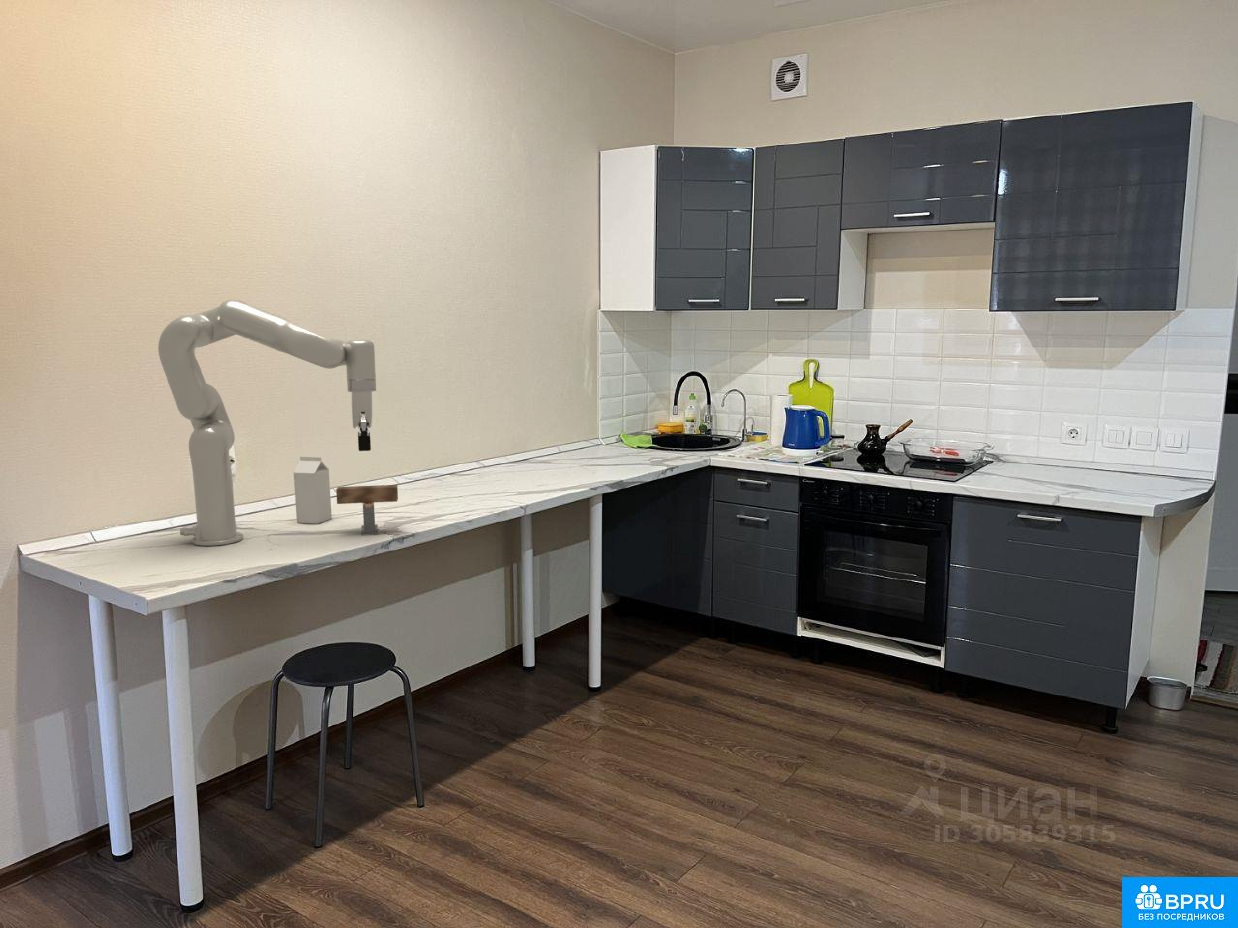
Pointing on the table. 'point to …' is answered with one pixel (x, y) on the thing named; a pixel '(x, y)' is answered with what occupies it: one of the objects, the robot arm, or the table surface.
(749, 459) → the table surface
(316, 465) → the milk carton
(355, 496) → the walnut rod
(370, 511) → the ridge stand
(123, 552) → the table surface
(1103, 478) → the table surface
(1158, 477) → the table surface
